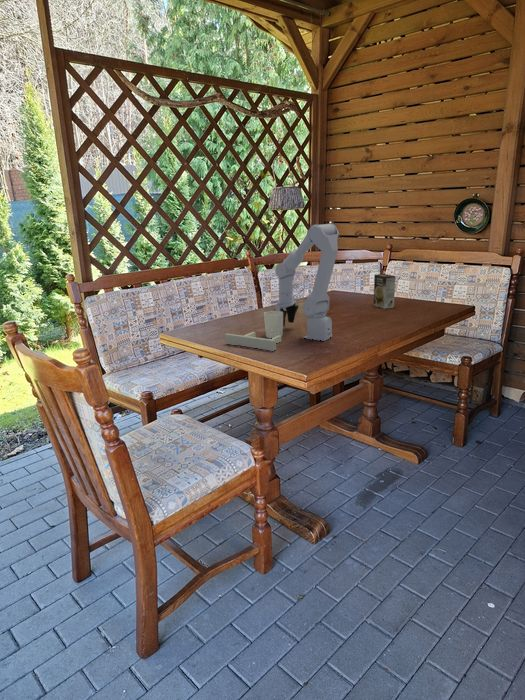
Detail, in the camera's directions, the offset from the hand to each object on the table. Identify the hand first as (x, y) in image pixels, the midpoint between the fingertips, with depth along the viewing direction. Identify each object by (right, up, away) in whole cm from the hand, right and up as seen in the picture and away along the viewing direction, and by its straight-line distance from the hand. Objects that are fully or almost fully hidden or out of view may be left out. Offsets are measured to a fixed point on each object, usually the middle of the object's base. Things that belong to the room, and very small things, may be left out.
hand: (286, 324), depth 199 cm
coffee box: (+52, +11, +41) cm, 67 cm away
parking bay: (-11, -8, -16) cm, 21 cm away
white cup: (-5, -6, -7) cm, 11 cm away
